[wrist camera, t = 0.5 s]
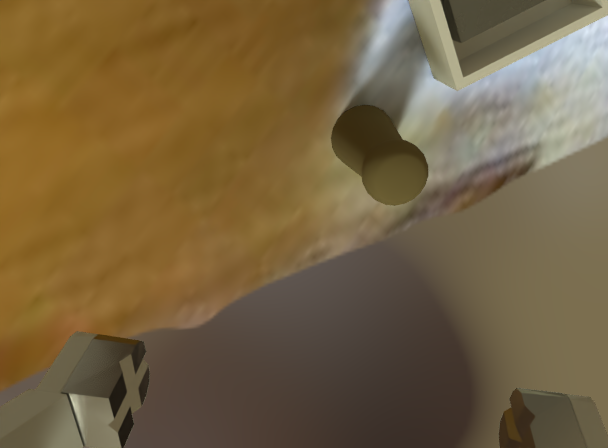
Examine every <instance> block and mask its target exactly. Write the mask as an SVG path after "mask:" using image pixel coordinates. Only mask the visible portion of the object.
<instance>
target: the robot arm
mask: <svg viewBox="0 0 608 448" xmlns="http://www.w3.org/2000/svg"><path fill="white" fill-rule="evenodd" d="M145 353H146V349H145V345H144V342H143V341H139V340H132V339H126V338H120V337H113V336H107V335H100V334H93V333H86V332H78V331H77V332H75V333H74V334H73V335H72V336H70V338H69V339H68V341H67V342H66V344H65V345H64V347H63V348H62V350H61V352H60V353H59V355H58V356H57V358H56V359H55V361H54V362H53V364H52V365H51V367H50V368H49V370H48V371H47V373H46V375H45V376H44V378H43V379H42V381H41V382H40V384H39V385H38V387H37V388H36V390H33V389H28V390H27V391H26V392H24V393H22V394H20V395H19V396H17V397H16V398H14V399H12V400H11V401H9V402H7V403H6V404H4V405H3V406H1V407H0V448H84V447H91V448H124V446H125V444H126V441H127V439H128V437H129V434H130V432H131V430H132V428H133V425H134V422H133V417H132V413H134V412H135V411H136V410H138V409H139V408H140V407H142V405H143V402H144V400H145V397H146V395H147V390H148V386H149V380H150V371H149V365H148V364H147V363H146V362H145V361H144V360H143V357H144V355H145ZM510 404H511V408H509V409H508V410H506V411H504V412H503V415H502V418H501V420H500V426H499V446H500V448H608V435H607V432H606V430H605V427H604V425H603V422H602V420H601V417H600V415H599V412H598V410H597V407H596V404H595V402H594V401H593V400H592V399H591V398H590V397H584V396H577V395H569V394H562V393H556V392H547V391H538V390H530V389H521V388H516V389H515V390H514V391H513V392H512V394H511V396H510Z"/></svg>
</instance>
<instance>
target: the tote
mask: <svg viewBox="0 0 608 448" xmlns="http://www.w3.org/2000/svg"><path fill="white" fill-rule="evenodd" d="M408 1H409V4H410V7H411V10H412V13H413V16H414V19H415V22H416V25H417V29H418V32H419V35H420V38H421V41H422V44H423V47H424V50H425V53H426V56H427V59H428V62H429V65H430V68H431V71H432V74H433V78H434V79H436V80H438V81H440V82H442V83H443V84H445V85H447V86H449V87H451V88H453V89H455V90H456V91H458V90H460V89H462V88H464V87H466V86H468V85H470V84H472V83H474V82H476V81H478V80H480V79H482V78H484V77H486V76H488V75H490V74H492V73H494V72H496V71H498V70H500V69H502V68H504V67H506V66H508V65H510V64H512V63H513V62H515V61H517V60H519V59H521V58H523V57H525V56H527V55H529V54H531V53H533V52H535V51H537V50H539V49H541V48H543V47H545V46H547V45H549V44H551V43H553V42H555V41H557V40H559V39H561V38H563V37H565V36H567V35H569V34H571V33H573V32H575V31H577V30H579V29H581V28H583V27H585V26H587V25H589V24H591V23H593V22H595V21H597V20H599V19H601V18H603V17H605V16H607V15H608V0H545V1H543V2H541V3H539V4H537V5H535V6H533V7H531V8H529V9H527V10H526V11H524V12H522V13H520V14H518V15H516V16H514V17H512V18H510V19H508V20H506V21H504V22H502V23H500V24H498V25H496V26H494V27H492V28H490V29H488V30H486V31H484V32H482V33H480V34H478V35H476V36H474V37H472V38H470V39H468V40H467V41H465V42H463V43H460V42H457V41H454V40H452V38H451V35H450V31H449V28H448V24H447V21H446V18H445V14H444V11H443V8H442V4H441V1H440V0H408Z"/></svg>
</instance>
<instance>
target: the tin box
mask: <svg viewBox="0 0 608 448" xmlns="http://www.w3.org/2000/svg"><path fill="white" fill-rule="evenodd" d="M440 1H441V4H442V8H443V11H444V14H445V18H446V21H447V24H448V28H449V31H450V35H451V38H452V40H454V41H457V42H460V43H463V42H465V41H467V40H468V39H470V38H472V37H474V36H476V35H478V34H480V33H482V32H484V31H486V30H488V29H490V28H492V27H494V26H496V25H498V24H500V23H502V22H504V21H506V20H508V19H510V18H512V17H514V16H516V15H518V14H520V13H522V12H524V11H526V10H527V9H529V8H531V7H533V6H535V5H537V4H539V3H541V2H543V1H545V0H440Z"/></svg>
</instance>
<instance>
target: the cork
mask: <svg viewBox="0 0 608 448" xmlns="http://www.w3.org/2000/svg"><path fill="white" fill-rule="evenodd" d="M331 141H332V148H333V150H334V152H335V154H336V156H337V157H338V158H339V159H340V160H341V161H342V162H343V163H345V164H346V165H347V166H348V167H350V168H351V169H352V170H354V171H355V172H356V173H358V174H359V175H360V176H361V177H362V182H363V184H364V187H365V189H366V191H367V192H368V194H369V195H371V196H372V197H373V198H374V199H375V200H377V201H379V202H381V203H383V204H385V205H394V206H395V205H400V204H405V203H407V202H409V201H411V200H413V199H414V198H415V197H416V196H417V195H418V194H420V192H421V191H422V189H423V188H424V186H425V184H426V181H427V178H428V164H427V162H426V159H425V156H424V154H423V153H422V152H421V151H420V150H419V149H418V147H416V146H415V145H414V144H412V143H410V142H408V141H405V140H403V139H402V138H401V136H400V134H399V133H398V131H397V129H396V128H395V126H394V124H393V123H392V121H391V119H390V118H389V116H388V115H387V114H386V113H385V112H384V111H383V110H381V109H379V108H377V107H375V106H370V105H361V106H355V107H353V108H351V109H349V110H348V111H346V112H345V113H344V114H343V115H342V116H341V117H340V118H339V119H338V120H337V122H336V124H335V126H334V127H333V131H332V136H331Z"/></svg>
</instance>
